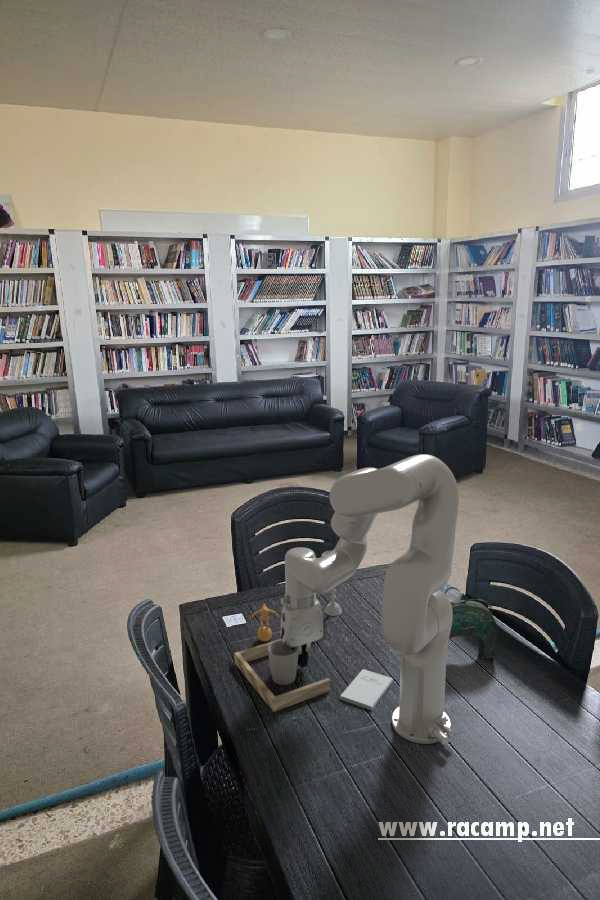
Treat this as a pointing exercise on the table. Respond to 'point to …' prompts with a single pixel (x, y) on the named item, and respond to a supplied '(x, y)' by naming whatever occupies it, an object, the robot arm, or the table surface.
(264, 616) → the figurine
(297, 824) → the table surface
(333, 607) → the chalice
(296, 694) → the wooden u-shaped frame
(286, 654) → the cup
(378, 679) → the external hard drive
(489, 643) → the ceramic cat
